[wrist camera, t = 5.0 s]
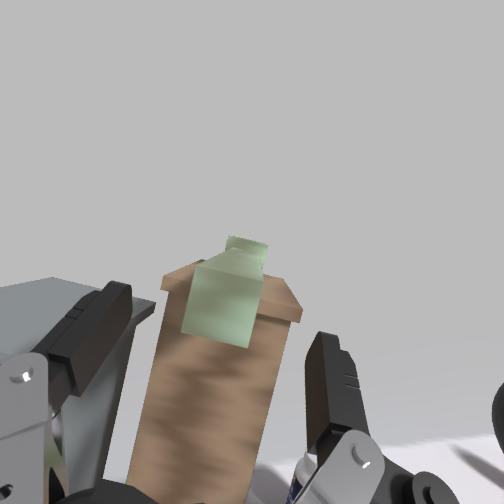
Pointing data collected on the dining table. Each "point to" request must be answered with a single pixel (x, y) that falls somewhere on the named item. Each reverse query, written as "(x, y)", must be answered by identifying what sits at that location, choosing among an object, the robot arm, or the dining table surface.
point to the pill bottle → (301, 475)
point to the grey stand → (101, 386)
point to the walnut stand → (208, 401)
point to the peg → (227, 293)
